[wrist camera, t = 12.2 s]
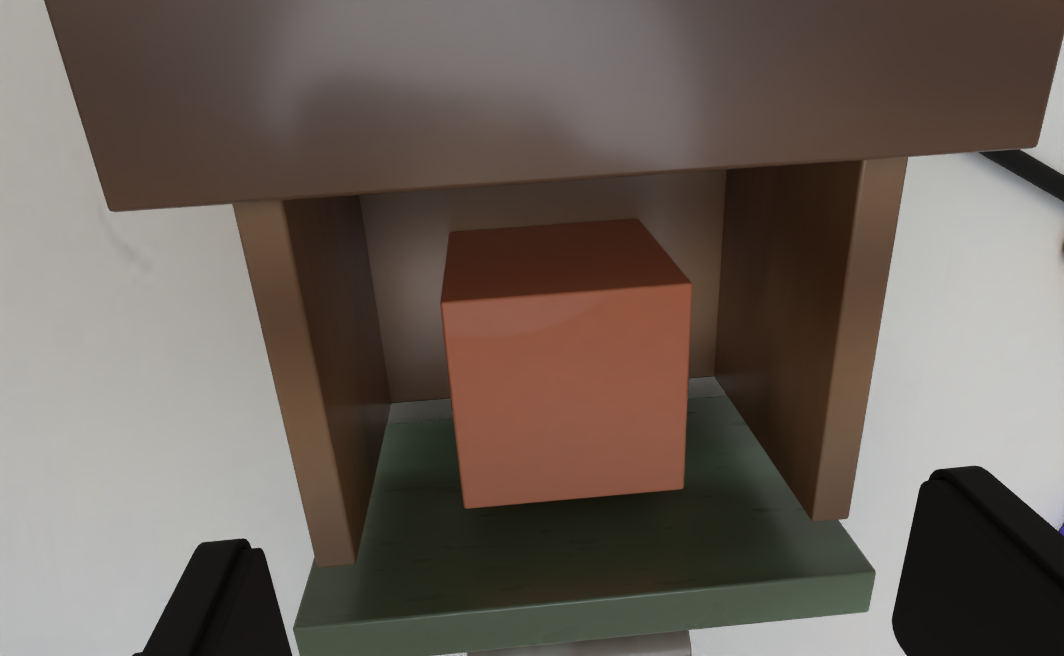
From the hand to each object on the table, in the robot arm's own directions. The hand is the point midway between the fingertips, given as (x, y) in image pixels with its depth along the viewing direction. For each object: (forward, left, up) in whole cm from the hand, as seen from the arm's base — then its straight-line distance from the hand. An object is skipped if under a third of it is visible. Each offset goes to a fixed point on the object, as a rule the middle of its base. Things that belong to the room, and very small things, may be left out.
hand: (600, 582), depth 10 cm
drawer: (0, 0, -11) cm, 11 cm away
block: (0, 0, -10) cm, 10 cm away
